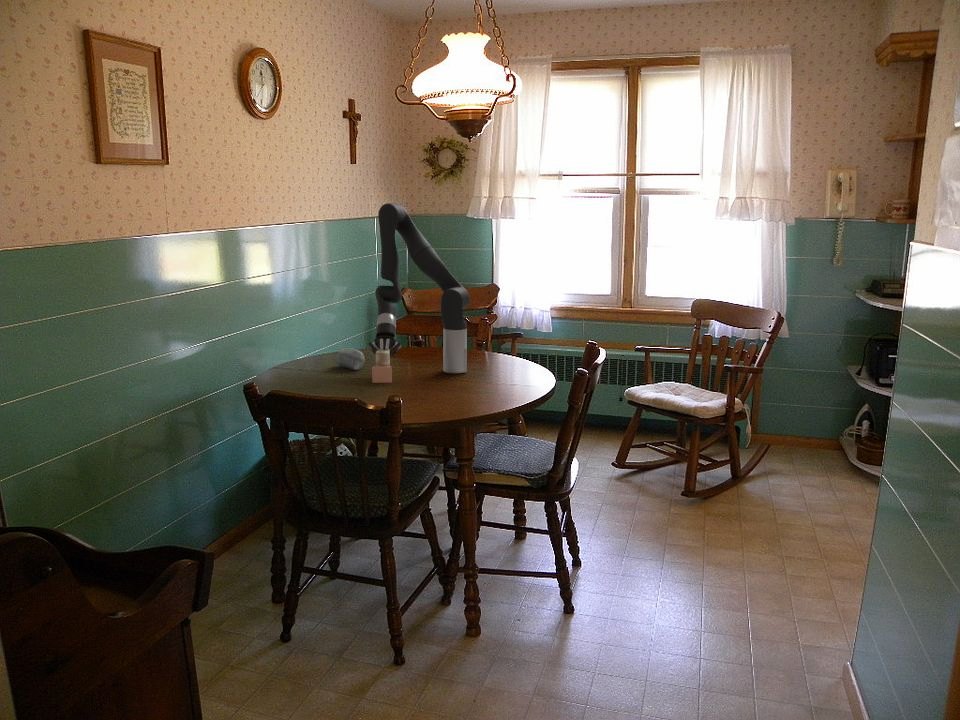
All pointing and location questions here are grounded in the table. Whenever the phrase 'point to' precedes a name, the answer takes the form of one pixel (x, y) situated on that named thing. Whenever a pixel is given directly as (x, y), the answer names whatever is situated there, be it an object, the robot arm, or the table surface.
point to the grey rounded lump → (350, 358)
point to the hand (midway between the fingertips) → (383, 364)
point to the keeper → (382, 358)
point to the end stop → (382, 374)
